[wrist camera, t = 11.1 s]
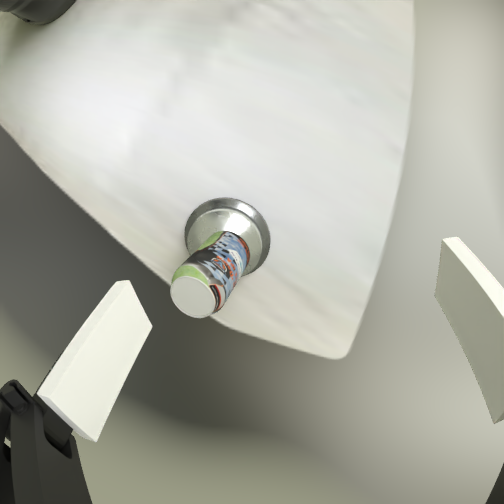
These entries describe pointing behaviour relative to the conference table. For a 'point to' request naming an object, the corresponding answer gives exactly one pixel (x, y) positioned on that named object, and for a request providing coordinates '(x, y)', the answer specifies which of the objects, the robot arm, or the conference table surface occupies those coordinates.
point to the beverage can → (210, 274)
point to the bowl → (229, 227)
